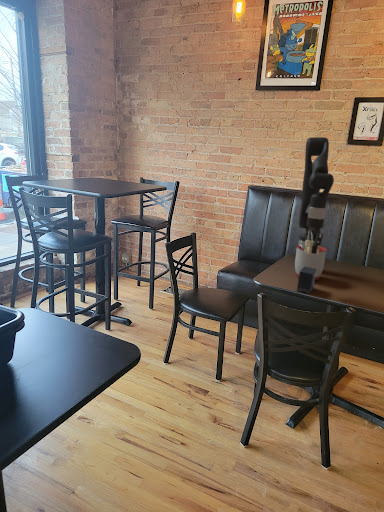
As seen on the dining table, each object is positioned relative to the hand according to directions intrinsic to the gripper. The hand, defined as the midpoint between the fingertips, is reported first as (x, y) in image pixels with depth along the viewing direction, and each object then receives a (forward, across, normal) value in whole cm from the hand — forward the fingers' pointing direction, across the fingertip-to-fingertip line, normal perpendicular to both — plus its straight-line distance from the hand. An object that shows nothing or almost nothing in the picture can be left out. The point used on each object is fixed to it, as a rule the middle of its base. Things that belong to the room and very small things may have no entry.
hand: (311, 251), depth 172 cm
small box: (+20, 0, 0) cm, 20 cm away
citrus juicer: (+20, -20, +9) cm, 30 cm away
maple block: (+1, 0, 0) cm, 1 cm away
